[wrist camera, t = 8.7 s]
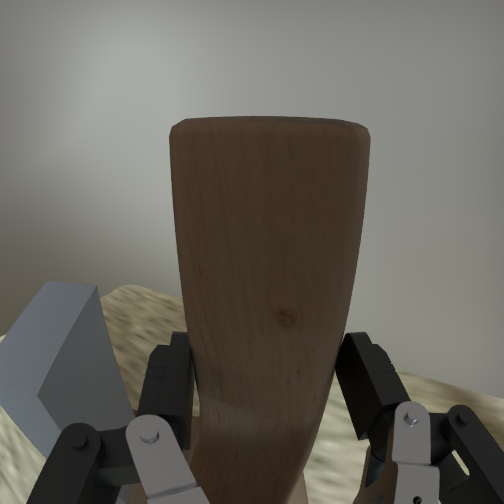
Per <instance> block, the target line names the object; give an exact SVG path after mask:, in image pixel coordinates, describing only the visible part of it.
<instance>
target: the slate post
mask: <svg viewBox="0 0 504 504" xmlns="http://www.w3.org/2000/svg"><path fill="white" fill-rule="evenodd" d="M0 405H1V406H2V407H3V409H4V410H5V411H6V413H7V414H8V415H9V417H10V418H11V419H12V420H13V422H14V423H15V424H16V425H17V426H18V428H19V429H20V430H21V431H22V432H23V434H24V435H25V436H26V437H27V438H28V439H29V440H30V442H31V443H32V444H33V445H34V446H35V447H36V448H37V449H38V450H39V451H40V452H41V453H42V455H43V456H44V457H45V458H46V459H48V457H49V455H50V453H51V451H52V449H53V447H54V445H55V443H56V441H57V439H58V437H59V435H60V434H61V432H62V430H63V429H64V428H65V427H67V426H68V425H70V424H73V423H86V424H88V425H91V426H92V427H94V428H95V429H96V430H97V431H104V430H113V429H119V428H122V427H124V426H126V425H128V424H129V423H130V422H131V421H132V420H133V419H134V418H135V415H134V412H133V410H132V407H131V404H130V402H129V399H128V396H127V393H126V390H125V387H124V384H123V381H122V378H121V375H120V372H119V369H118V366H117V363H116V359H115V356H114V353H113V349H112V346H111V342H110V338H109V335H108V331H107V327H106V323H105V319H104V315H103V311H102V307H101V302H100V298H99V294H98V288H97V285H88V284H78V283H68V282H59V281H49V280H48V281H47V282H46V283H45V284H44V286H43V287H42V288H41V289H40V290H39V292H38V293H37V294H36V295H35V297H34V298H33V299H32V300H31V302H30V303H29V304H28V306H27V307H26V308H25V310H24V311H23V312H22V314H21V315H20V316H19V318H18V319H17V321H16V322H15V323H14V325H13V326H12V327H11V329H10V330H9V332H8V333H7V334H6V336H5V337H4V339H3V340H2V342H1V343H0ZM130 490H131V484H127V485H122V486H121V489H120V492H119V495H118V497H117V500H116V503H115V504H129V497H130Z"/></svg>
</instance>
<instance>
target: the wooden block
mask: <svg viewBox="0 0 504 504" xmlns="http://www.w3.org/2000/svg"><path fill="white" fill-rule="evenodd" d="M169 141H170V142H169V144H170V165H171V182H172V197H173V210H174V221H175V233H176V244H177V254H178V263H179V272H180V280H181V287H182V296H183V304H184V311H185V318H186V325H187V332H188V338H189V344H190V346H191V356H192V363H193V368H194V374H195V380H196V385H197V390H198V396H199V401H200V424H199V438H198V441H197V444H196V447H195V450H194V453H193V456H192V459H191V462H190V465H189V468H190V470H191V472H192V474H193V476H194V478H195V480H196V482H197V483H198V484H199V485H200V487H201V489H202V490H203V492H204V494H205V496H206V497H207V499H208V501H209V503H210V504H288V502H289V500H290V498H291V496H292V494H293V492H294V490H295V488H296V485H297V483H298V481H299V479H300V477H301V474H302V472H303V470H304V467H305V465H306V463H307V460H308V458H309V456H310V453H311V451H312V448H313V445H314V442H315V439H316V436H317V432H318V429H319V426H320V423H321V420H322V416H323V413H324V410H325V406H326V403H327V399H328V395H329V392H330V388H331V384H332V381H333V377H334V373H335V366H336V362H337V358H338V354H339V350H340V347H341V344H342V339H343V335H344V330H345V326H346V321H347V316H348V311H349V306H350V301H351V295H352V290H353V285H354V278H355V273H356V266H357V261H358V254H359V247H360V241H361V233H362V226H363V218H364V209H365V200H366V191H367V180H368V167H369V153H370V135H369V132H368V129H367V128H366V127H364V126H362V125H360V124H357V123H353V122H349V121H344V120H337V119H325V118H307V117H282V116H236V117H208V118H191V119H185V120H182V121H181V122H179V123H177V124H176V125H174V126H172V128H171V132H170V135H169Z"/></svg>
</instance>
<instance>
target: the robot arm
mask: <svg viewBox="0 0 504 504" xmlns="http://www.w3.org/2000/svg"><path fill="white" fill-rule="evenodd" d="M335 372H336V376H337V379H338V382H339V384H340V387H341V390H342V393H343V396H344V399H345V402H346V405H347V408H348V411H349V414H350V417H351V420H352V423H353V426H354V429H355V432H356V435H357V438H358V441H359V440H364V439H369V442H370V445H369V446H368V448H367V452H366V458H365V464H364V470H363V475H362V480H361V485H360V489H359V492H358V494H357V496H356V498H355V500H354V502H353V504H438V499H439V500H440V502H441V504H504V452H503V451H502V450H501V448H500V447H499V445H498V444H497V443H496V441H495V440H494V439H493V437H492V436H491V434H490V433H489V432H488V430H487V429H486V428H485V426H484V425H483V424H482V422H481V421H480V420H479V418H478V417H477V416H476V414H475V413H474V412H473V411H472V410H471V409H470V408H469V407H467V406H465V405H455V406H453V407H452V408H451V409H450V410H449V411H448V413H447V414H446V413H429V412H428V411H427V410H426V408H425V407H424V406H422V405H421V404H419V403H417V402H413V401H411V400H410V398H409V396H408V394H407V392H406V390H405V388H404V386H403V384H402V382H401V380H400V378H399V376H398V374H397V372H395V368H394V366H393V364H391V361H390V359H389V357H388V355H387V353H386V352H385V351H384V350H383V349H382V348H381V347H380V346H379V345H378V344H372V342H371V340H370V338H369V336H368V335H367V333H366V332H355V333H346V334H345V337H344V339H343V342H342V345H341V347H340V350H339V354H338V358H337V362H336V366H335ZM194 380H195V374H194V368H193V363H192V356H191V346H190V344H189V338H188V332H174V331H173V333H172V337H171V343H170V345H158V346H157V347H156V348H155V349H154V350H153V352H152V353H151V354H150V357H149V362H148V368H147V370H146V375H145V379H144V383H143V388H142V393H141V397H140V402H139V407H138V411H137V414H136V416H135V418H134V419H133V420H132V421H131V422H130V423H129V424H128V425H126V426H124V427H122V428H119V429H113V430H104V431H97V430H96V429H95V428H94V427H92V426H91V425H88V424H86V423H73V424H70V425H68V426H67V427H65V428H64V429H63V430H62V432H61V434H60V435H59V437H58V439H57V441H56V443H55V445H54V447H53V449H52V451H51V453H50V455H49V457H48V459H47V461H46V463H45V465H44V467H43V469H42V471H41V473H40V475H39V477H38V479H37V481H36V483H35V485H34V488H33V490H32V492H31V494H30V496H29V498H28V501H27V503H26V504H115V503H116V500H117V497H118V495H119V492H120V489H121V486H122V485H127V484H135V483H142V485H143V488H144V490H145V493H146V499H147V503H148V504H210V503H209V501H208V499H207V497H206V496H205V494H204V492H203V490H202V489H201V487H200V485H199V484H198V483H197V482H196V480H195V478H194V476H193V474H192V472H191V470H190V468H189V466H188V464H187V462H186V460H185V458H184V456H183V450H190V442H191V424H192V408H193V393H194ZM454 450H456V452H457V453H458V455H459V456H460V458H461V459H462V461H463V462H464V464H465V465H466V467H467V468H468V470H469V474H470V475H469V476H468V475H466V474H465V473H464V471H463V469H462V468H461V466H460V465H459V463H458V462H457V460H456V459H455V457H454V456H453V454H452V452H453V451H454Z"/></svg>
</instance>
